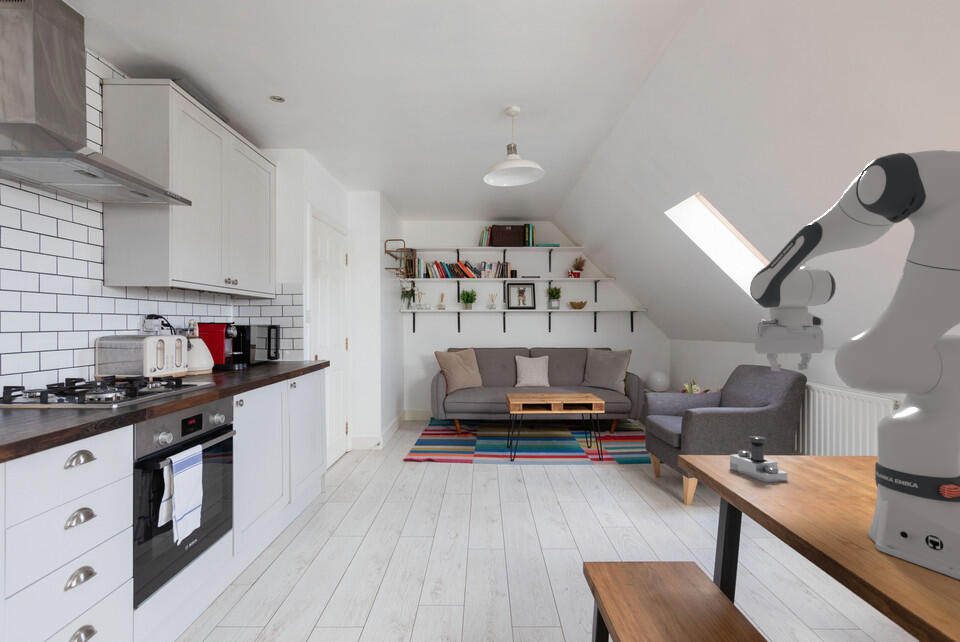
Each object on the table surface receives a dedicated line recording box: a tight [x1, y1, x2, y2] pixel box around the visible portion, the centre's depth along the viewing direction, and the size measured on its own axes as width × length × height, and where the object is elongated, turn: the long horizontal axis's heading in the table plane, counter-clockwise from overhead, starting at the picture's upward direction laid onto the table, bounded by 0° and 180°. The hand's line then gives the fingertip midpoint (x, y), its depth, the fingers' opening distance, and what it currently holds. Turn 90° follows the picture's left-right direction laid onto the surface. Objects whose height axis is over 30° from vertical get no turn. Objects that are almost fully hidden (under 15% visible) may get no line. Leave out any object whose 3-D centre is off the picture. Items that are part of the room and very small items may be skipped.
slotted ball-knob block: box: [729, 450, 788, 484], centre depth 126 cm, size 12×7×5 cm, turn 14°
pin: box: [747, 435, 768, 462], centre depth 126 cm, size 4×4×10 cm
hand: (789, 370), depth 126 cm, fingers open, 8 cm apart
